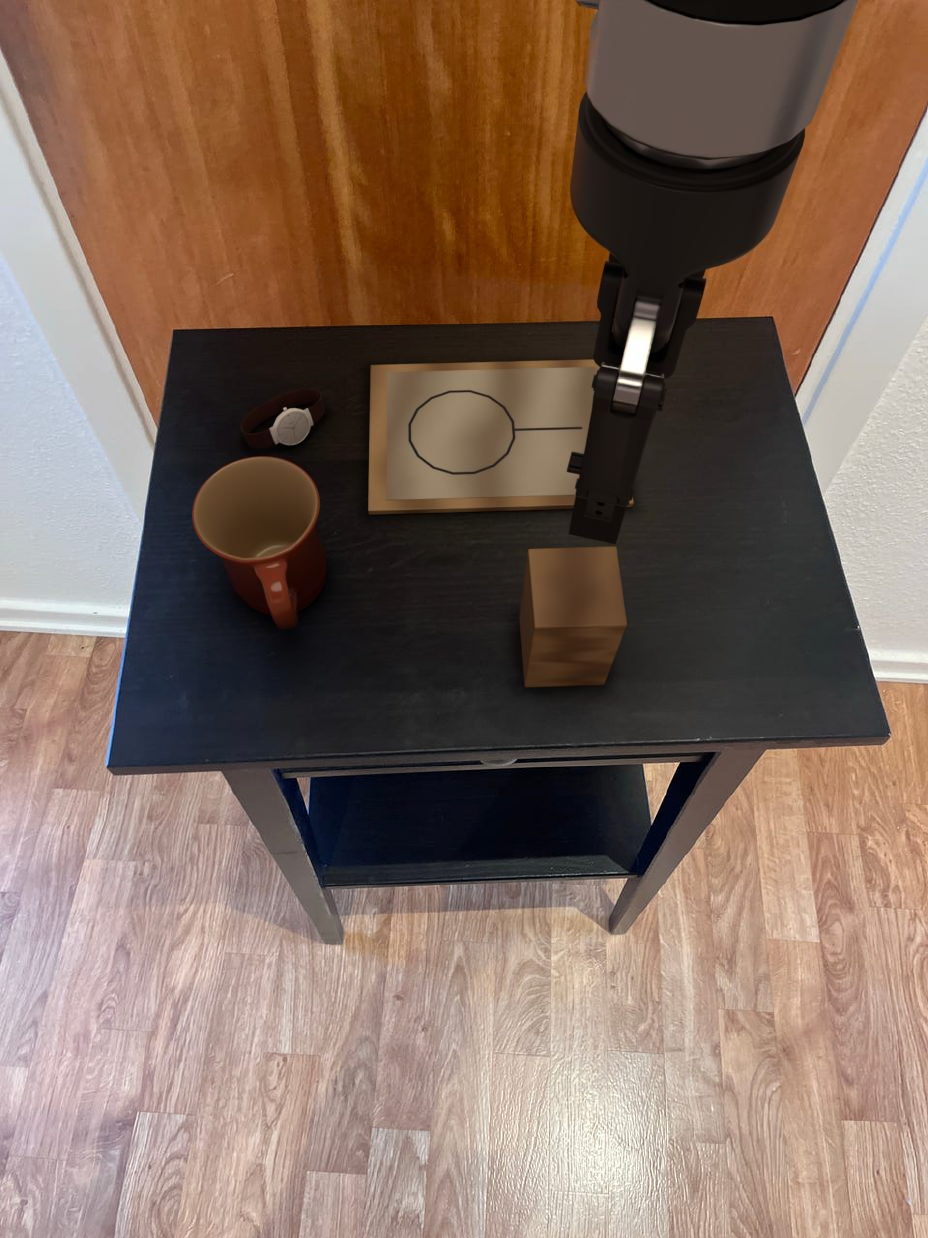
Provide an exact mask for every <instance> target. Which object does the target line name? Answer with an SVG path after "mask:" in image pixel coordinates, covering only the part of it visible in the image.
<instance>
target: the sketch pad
mask: <svg viewBox="0 0 928 1238" xmlns="http://www.w3.org/2000/svg"><path fill="white" fill-rule="evenodd" d="M599 368H600V367H599V366H598V365H597V364H596V363H595V362H594V360H593V359H558V360H557V359H556V360H519V361H517V360H516V361H515V360H514V361H477V362H476V361H473V362H439V363H438V362H437V363H397V364H371V365H370V379H369V380H370V382H369V385H370V386H369V436H368V437H369V439H368V440H369V441H368V446H369V447H368V494H367V495H368V497H367V498H368V499H367V501H368V502H367V504H368V505H367V511H368V515H369V516H370V515H371V516H372V515H402V514H407V515H408V514H439V513H441V514H442V513H470V512H471V513H472V512H473V513H474V512H476V513H477V512H509V511H510V512H511V511H544V510H545V511H547V510H573V507H574V502H575V497H576V494H575V493H576V489H575V485H576V481H577V478H578V479H579V476H580V475H578V474H573V473H568V472H567V467H568V463H569V460H570V456H571V452H577V453H582V454H584V450H585V445H586V439H587V433H588V428H589V422H590V417H591V411H592V403H593V395H594V391H593V388H591V387H592V382H593V377H594V375H596V374H597V370H599ZM633 507H634V497H633V498H632V501H631V500H630V502H629V505H627V507H626V508H633Z"/></svg>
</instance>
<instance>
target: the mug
mask: <svg viewBox="0 0 928 1238" xmlns="http://www.w3.org/2000/svg"><path fill="white" fill-rule="evenodd" d="M320 506H321V501H320V493H319V490H318V488H317V486H316V483H315V482H314V480H313V478H312V477H311V476H310V475H309V473H307V472H306V471H305V470H304V469H303V468H302V467H300V466H299V465H297V464H296V463H293V462H292V461H289V460H286V459H283V458H279V457H274V456H265V455H264V456H250V457H245V458H241V459H237V460H235V461H232V462H230V463H228V464H226V465H223V466H222V467H221V468H219V469H217V471H215V472H214V473H212V474H211V475H210V476H209V477H208V478H207V479H206V480H205V481H204V482H203V484H202V485H201V487H200V488H199V490H198V491H197V494H196V495H195V498H194V501H193V505H192V510H191V511H192V514H191V516H192V525H193V528H194V530H195V533H196V535H197V537H198V538H199V540H200V542H201V543H202V544H203V545H204V546H205V547H206V548H207V549H208V550H210V551H211V552H212V553H213V554H214V555H216V556H218V557H219V558H220V559H221V562H222V564H223V567H224V570H225V572H226V574H227V577H228V579H229V582H230V585H231V586H232V588H233V590H234V592H236V594H237V595H238V596H239V597H240V598H241V599H242V600H243V601H244V602H245V603H246V604H247V605H248V606H249V607H250V608H252V610H255V611H257V612H259V613H261V614H263V615H268V616H271V618H272V620H273V622H274V624H275V625H276V627H277V628H279V630H280V629H281V630H287V629H291V628H295V627H296V626H297V625H298V623H299V613H298V612H301V611H302V610H304V609H306V608H308V607H309V606H311V604H312V603H313V602H314V601H315V600H316V599H317V597H318V596H319V595H320V593H321V592H322V590H323V588H324V585H325V581H326V575H327V555H326V551H325V548H324V546H323V543H322V540H321V537H320V533H319V531H318V528H317V523H318V519H319V516H320V511H321V510H320V509H321V508H320Z"/></svg>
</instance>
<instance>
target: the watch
mask: <svg viewBox="0 0 928 1238" xmlns="http://www.w3.org/2000/svg"><path fill="white" fill-rule="evenodd" d="M323 398H324V397H323V393H322V392H321V391H320V390H319V389H318V388H317V389H316V388H311V387H309V388H308V387H303V388H298V389H293V390H290V391H287V392H283V393H281V394H279V395H278V394H277V395H275V396H274V397H271V398H269V399H268V400H266V401H265V402H264V403H262V404H260V405H258V406H257V407H256V408H253V409H252V410H251V411H250V412H249V413H247V415H245V417H244V418H243V419H242V421H241V423H240V426H239V427H240V428H239V430H240V432H241V434H242V436H243V439H244V440H245V442H246V444H247V445H248V446H249V447H251V448H254V449H262V448H265V447H270V446H272V445H278V444H279V443H280V444H283V445H285V446H294V445H298V444H300V443H301V442H302V441H304V440H305V439H306V437H307V436H308V435H309V433H310V430H311V427H312V426H314V424H315V423H316V422H318V421H319V420H320V419H321V418H322V417H323V416H324V415H325V413H326V406H325V402H324V399H323ZM307 404H313V405H312V406H309V407H308V408H307V407H306V408H304V409H301V408H296V407H298V406H302V405H307ZM276 416H277V417H276ZM273 417H276V418H275V421H274V423H273V425H272V426H271V427H269V428H268V429H266V430H262V431H259V432H255V433H253V432H254V430H255V429H256V428H257V427H259V426H260V425H262V424H263V423H265V422H266V421H268V420H270V419H272V418H273Z"/></svg>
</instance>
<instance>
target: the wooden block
mask: <svg viewBox="0 0 928 1238" xmlns="http://www.w3.org/2000/svg"><path fill="white" fill-rule="evenodd" d="M617 548H618V547H617V546H588V547H587V546H586V547H583V546H582V547H552V548H528V550H527V556H526V564H525V572H524V578H523V579H524V580H523V587H522V594H521V600H520V610H519V618H518V619H519V628H520V629H519V631H520V632H519V633H520V644H521V659H522V672H523V673H522V674H523V685H524V688H546V687H547V688H548V687H575V686H577V687H578V686H604V685H605V683H606V681H607V679H608V677H609V673H610V670H611V668H612V666H613V662H614V660H615V657H616V655H617V653H618V650H619V647H620V644H621V641H622V639H623V637H624V634H625V630H626V628H627V625H628V620H627V614H626V607H625V600H624V593H623V585H622V577H621V569H620V565H619V557H618V549H617Z"/></svg>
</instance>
